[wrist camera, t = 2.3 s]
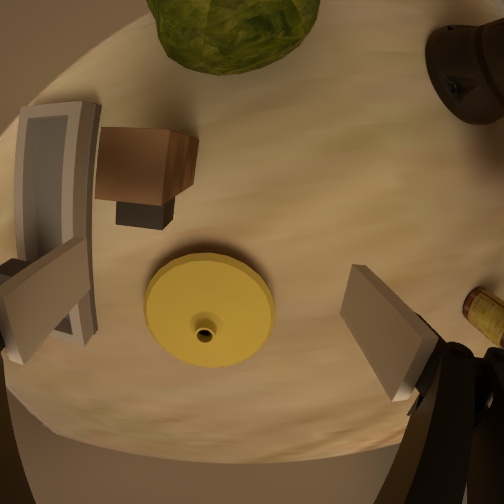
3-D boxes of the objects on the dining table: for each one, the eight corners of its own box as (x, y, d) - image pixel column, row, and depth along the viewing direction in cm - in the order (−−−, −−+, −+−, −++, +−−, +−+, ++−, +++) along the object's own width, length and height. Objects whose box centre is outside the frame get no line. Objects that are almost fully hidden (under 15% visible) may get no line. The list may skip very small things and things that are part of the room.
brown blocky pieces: (40, 109, 27) (-45, 103, 13) (101, 105, 28) (19, 85, 14) (44, 315, 37) (-10, 374, 22) (97, 329, 37) (50, 402, 23)
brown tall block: (155, 136, 30) (101, 127, 17) (199, 140, 30) (170, 129, 17) (148, 201, 32) (94, 233, 19) (190, 206, 33) (158, 242, 19)
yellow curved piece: (131, 316, 37) (113, 346, 30) (187, 218, 33) (175, 234, 27) (229, 370, 40) (228, 405, 34) (298, 288, 37) (310, 317, 30)
